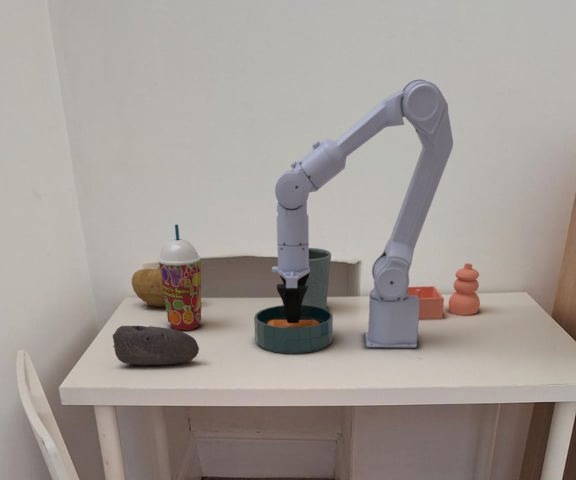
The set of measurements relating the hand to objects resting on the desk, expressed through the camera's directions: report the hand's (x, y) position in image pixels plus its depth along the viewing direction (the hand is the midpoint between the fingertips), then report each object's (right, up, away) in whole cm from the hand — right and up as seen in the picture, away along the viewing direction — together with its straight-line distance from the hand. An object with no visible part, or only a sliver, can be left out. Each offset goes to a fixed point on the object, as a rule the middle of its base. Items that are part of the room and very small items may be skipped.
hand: (294, 316), depth 144 cm
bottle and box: (+31, +5, +18) cm, 36 cm away
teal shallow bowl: (0, -4, +3) cm, 5 cm away
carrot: (0, -4, +2) cm, 4 cm away
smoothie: (-23, +1, +12) cm, 25 cm away
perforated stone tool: (-25, -11, -7) cm, 28 cm away
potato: (-29, +9, +25) cm, 39 cm away
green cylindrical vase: (+3, +7, +20) cm, 22 cm away
